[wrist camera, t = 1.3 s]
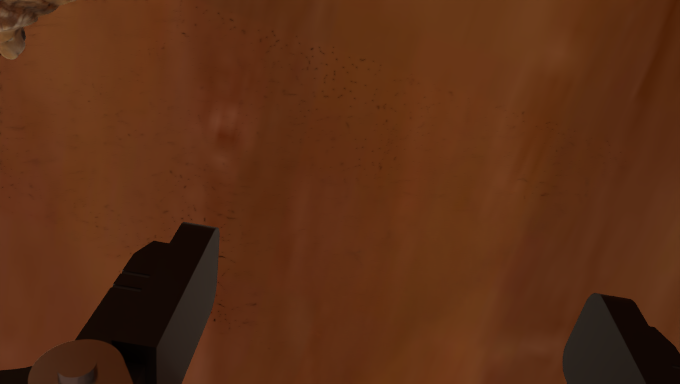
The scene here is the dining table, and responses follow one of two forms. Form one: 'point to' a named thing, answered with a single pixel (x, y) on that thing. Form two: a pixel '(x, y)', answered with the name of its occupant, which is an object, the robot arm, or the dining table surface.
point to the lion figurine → (21, 22)
